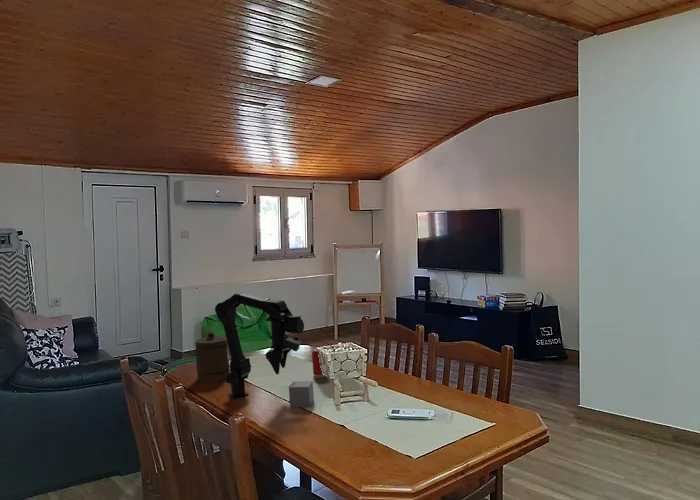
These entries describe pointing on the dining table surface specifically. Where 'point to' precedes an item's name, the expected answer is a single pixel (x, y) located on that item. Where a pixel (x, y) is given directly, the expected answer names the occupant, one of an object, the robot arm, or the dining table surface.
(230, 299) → the robot arm
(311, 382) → the dark grey block
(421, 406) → the dining table surface
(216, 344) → the wooden container
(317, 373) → the beverage can
